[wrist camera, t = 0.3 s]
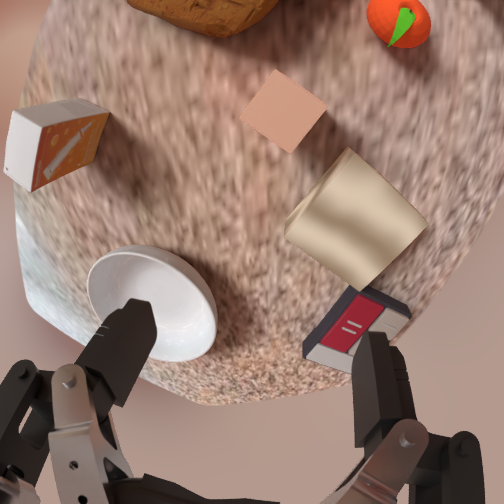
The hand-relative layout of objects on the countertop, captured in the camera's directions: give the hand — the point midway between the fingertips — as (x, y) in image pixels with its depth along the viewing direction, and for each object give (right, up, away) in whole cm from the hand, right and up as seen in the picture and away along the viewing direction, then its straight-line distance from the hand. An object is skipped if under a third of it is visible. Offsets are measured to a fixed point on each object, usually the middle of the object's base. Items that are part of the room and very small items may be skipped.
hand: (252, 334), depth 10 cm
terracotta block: (+4, +19, +19) cm, 27 cm away
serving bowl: (-14, -3, +35) cm, 38 cm away
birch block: (+12, +8, +24) cm, 28 cm away
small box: (-23, +20, +23) cm, 38 cm away
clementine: (+15, +28, +12) cm, 34 cm away
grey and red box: (+16, -8, +33) cm, 38 cm away
